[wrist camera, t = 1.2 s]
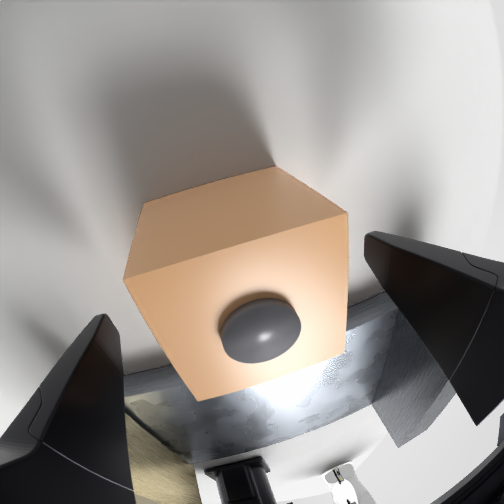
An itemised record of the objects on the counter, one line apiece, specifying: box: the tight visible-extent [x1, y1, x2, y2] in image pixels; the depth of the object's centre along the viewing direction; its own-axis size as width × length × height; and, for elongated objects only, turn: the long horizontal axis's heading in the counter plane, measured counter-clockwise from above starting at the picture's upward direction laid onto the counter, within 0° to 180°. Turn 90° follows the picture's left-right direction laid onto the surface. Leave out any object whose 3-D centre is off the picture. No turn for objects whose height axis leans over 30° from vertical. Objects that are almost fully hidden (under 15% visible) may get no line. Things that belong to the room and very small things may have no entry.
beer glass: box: [322, 462, 376, 504], centre depth 32 cm, size 7×7×15 cm
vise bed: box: [124, 292, 456, 464], centre depth 14 cm, size 12×22×7 cm, turn 101°
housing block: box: [123, 166, 349, 401], centre depth 9 cm, size 5×5×5 cm
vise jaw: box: [125, 413, 202, 504], centre depth 13 cm, size 12×3×5 cm, turn 11°
